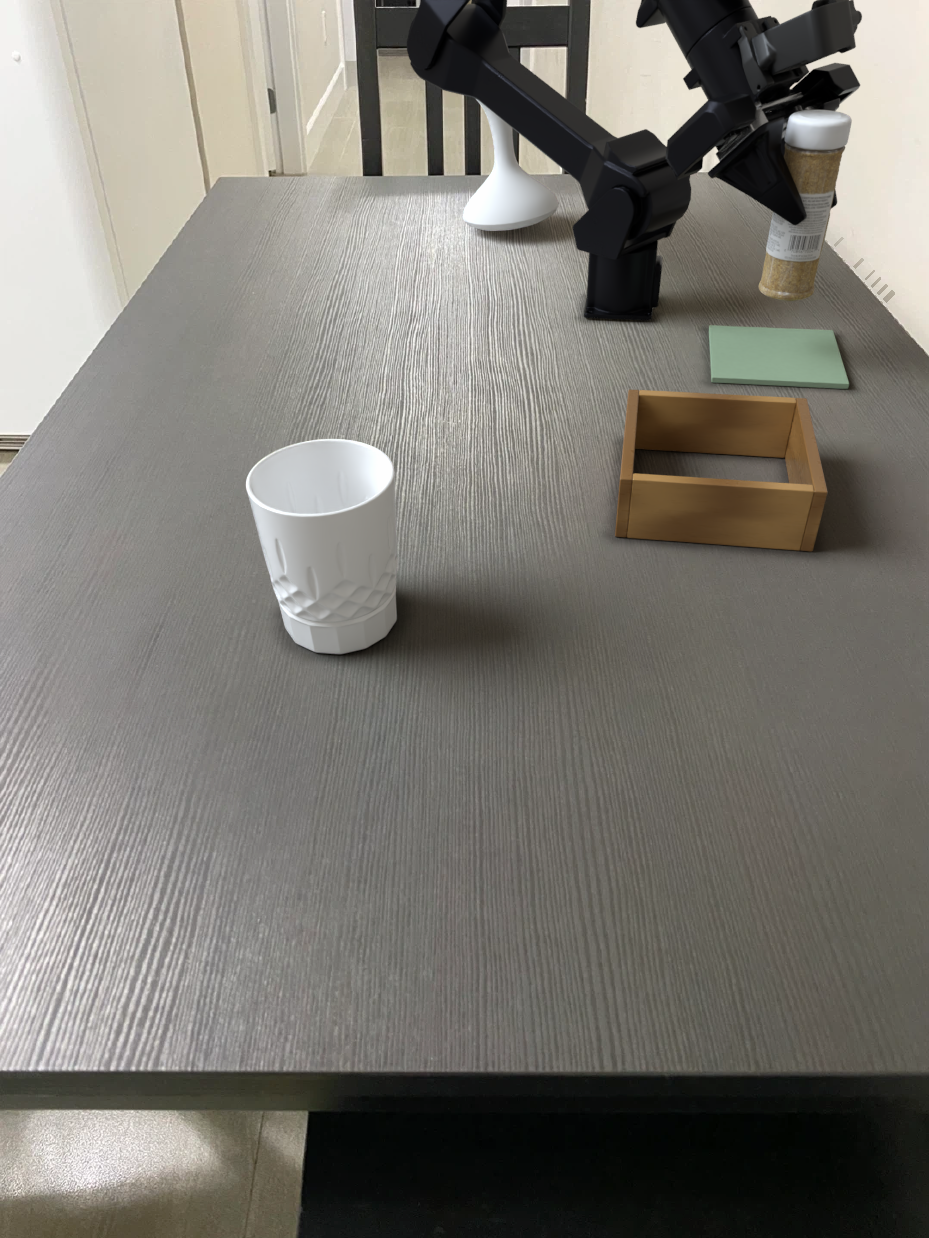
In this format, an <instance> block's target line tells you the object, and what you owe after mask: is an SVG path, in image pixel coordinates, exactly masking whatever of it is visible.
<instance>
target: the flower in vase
mask: <svg viewBox="0 0 929 1238" xmlns="http://www.w3.org/2000/svg"><path fill="white" fill-rule="evenodd" d="M472 2H473V0H470V1H469V2H468V4H472ZM475 100H476V102H477V103H478V104H479V105H480V106H481V109H482V110H483V112H484V114H485V116H486V118H487V122H488V126H489V129H490V133H491V137H492V144H493V154H494V161H493V163H494V164H493V166H492V170H491V172H490V174H489V175H488V176H487V178H486V179H485V180H484V181H483V183H482V184H481V185H480V186H479V187H478V189H477V190H476V191H475V192H474V194H473V195H472V196H471V197H470V198H469V200H468V201H467V203H466V205H465V206H464V208H463V212H462V220H463V221H464V223H466V225H467V226H469V227H470V228H474V229H477V230H482V231H488V232H490V231H491V232H500V231H513V230H517V229H518V230H519V229H524V228H527V227H530V226H533V225H536V224H539V223H541V222H543V221H546V220H547V219H548V218H550V217H551V216H553V215H554V214H555V213H556V212H557V210H558V207H559V205H560V201H559V198H558V197H557V195H556V193H555V192H554V191H553V190H552V189H551V188H550V187H548V186H547V185H546V184H544V183H543V182H542V181H540V180H538V179H537V178H535V177H534V176H533V175H531V174H529V173H528V172H527V171H525V170H524V169H523V167H522V166H521V165H520V164H519V161H517V157H516V154H515V147H514V136H513V135H514V133H513V128H512V127H511V126H509V125H508V124H507V123H506V122H504V121H503V120H502V119H501V118H500V117H498V116H497V115H496V114H495V113H493V112H492V111H491V110H490V109H488V108H487V107H486V106H485V105H484V104H482V103H481V102H480V101H479V100H477V99H475Z"/></svg>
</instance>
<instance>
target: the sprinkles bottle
mask: <svg viewBox="0 0 929 1238" xmlns="http://www.w3.org/2000/svg"><path fill="white" fill-rule="evenodd" d="M852 121H853V120H852V117H851V116H850V115H849V114H846V113H844V112H841V111H837V110H836V111H830V110H804V111H798V112H795V113H793V114H791V115H790V117H789V119H788V124H787V129H786V134H785V142H786V143H785V154H784V159H785V161H786V163H787V166H788V168H789V171H790V173H791V175H792V178H793V180H794V182H795V185H796V187H797V190H798V192H799V194H800V197H801V199H802V202H803V205H804V208H805V211H806V214H807V217H806V219H805V220H804V221H802V222H801V223H799V224H798V225H793V224H791V223H790V222H788V221H787V220H785V219H784V218H782V217H780V216H779V215H777V214H776V213H774V212H773V211H772V216H771V221H770V225H769V232H768V236H767V241H766V248H765V250H766V251H765V257H764V261H763V268H762V274H761V279H760V281H759V284H758V290H759V292H761V294H763V295H764V296H765V297H767V298H771V299H774V300H778V301H785V302H794V301H801V300H802V301H803V300H805V299H808V298H810V297H811V296H812V295H813V294H814V293H815V281H816V277H817V272H818V268H819V263H820V259H821V254H822V252H823V249H824V246H825V245H824V244H825V241H826V236H827V231H828V226H829V222H830V218H831V205H832V201H833V197H834V191H835V190H836V188H837V187H836V186H837V181H838V176H839V172H840V166H841V161H842V157H843V153H844V152H845V150H846V145H847V144H848V143H849V142H848V141H849V137H850V133H851V127H852Z"/></svg>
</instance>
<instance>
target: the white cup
mask: <svg viewBox="0 0 929 1238" xmlns="http://www.w3.org/2000/svg"><path fill="white" fill-rule="evenodd" d="M395 474H396V473H395V465H394V463H393V461H392V459H391V458H390V457H389V456H388V455H387V454H386V453H385V452H384V451H383V450H381V449H380V448H377V447H376V446H373V445H371V444H368V443H365V442H361V441H358V440H352V439H344V438H320V439H312V440H306V441H301V442H297V443H292V444H290V445H287V446H284V447H282V448H278V449H276V450H274V451H273V452H271V453H269V454H267V455H265V456H264V457H263V458H262V459H260V460H259V461H258V462H256V463H255V465H253V467H252V468H251V469H250V471H249V472H248V475H247V476H246V480H245V489H246V493H247V497H248V500H249V504H250V507H251V512H252V515H253V519H254V524H255V526H256V531H257V534H258V539H259V543H260V546H261V550H262V554H263V558H264V562H265V565H266V568H267V571H268V573H269V577H270V581H271V585H272V588H273V592H274V595H275V598H276V599H277V601H278V605H279V609H280V613H281V617H282V621H283V625H284V629H285V630H286V631H287V633H288V634H289V636H290V637H291V639H292V640H293V641H294V643H295V644H296V645H298V646H301V647H303V648H305V649H307V650H310V651H312V652H314V653H317V654H331V655H344V654H348V653H353V652H357V651H361V650H365V649H368V648H369V647H371V646H372V645H374V644H376V643H378V642H379V641H380V640H383V639H384V638H386V637H387V636H388V634H389V632H390V631H391V629H392V628H393V626H394V625H395V624H396V622H397V620H398V613H397V593H396V591H397V581H398V578H399V575H398V556H399V555H398V535H397V505H396V504H397V503H396V501H397V500H396V476H395Z"/></svg>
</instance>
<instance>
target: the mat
mask: <svg viewBox="0 0 929 1238" xmlns="http://www.w3.org/2000/svg"><path fill="white" fill-rule="evenodd" d="M708 340H709V341H708V343H709V344H708V346H709V360H710V361H709V362H710V381H711V383H715V384H733V385H735V384H736V385H756V386H774V387H795V388H797V387H798V388H815V389H816V388H817V389H837V390H838V389H839V390H849V386H850V381H849V379H848V376H847V375H848V374H847V372H846V369H845V366H844V362H843V358H842V356H841V353H840V348H839V345H838V342H837V339H836V336H835V332H834V330H833V329H813V328H786V327H764V326H761V327H760V326H741V325H740V326H739V325H716V324H715V325H714V324H711V325H710V324H709V326H708Z"/></svg>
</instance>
